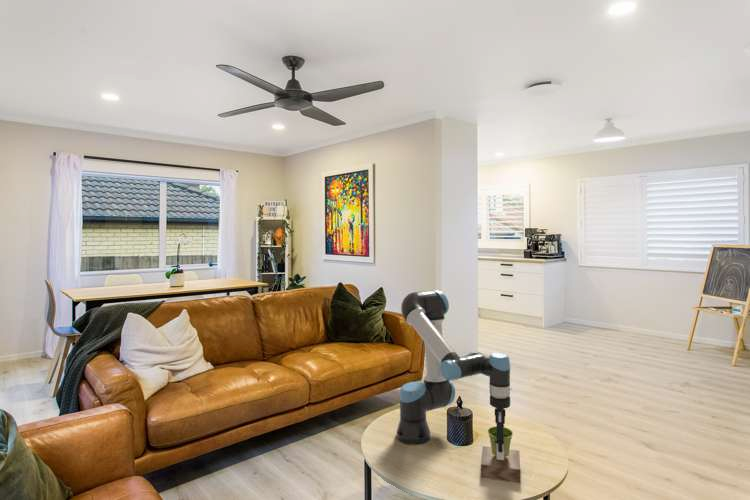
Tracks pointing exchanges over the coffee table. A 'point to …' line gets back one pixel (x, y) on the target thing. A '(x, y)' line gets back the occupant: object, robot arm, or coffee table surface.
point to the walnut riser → (500, 466)
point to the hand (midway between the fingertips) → (500, 453)
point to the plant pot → (493, 438)
